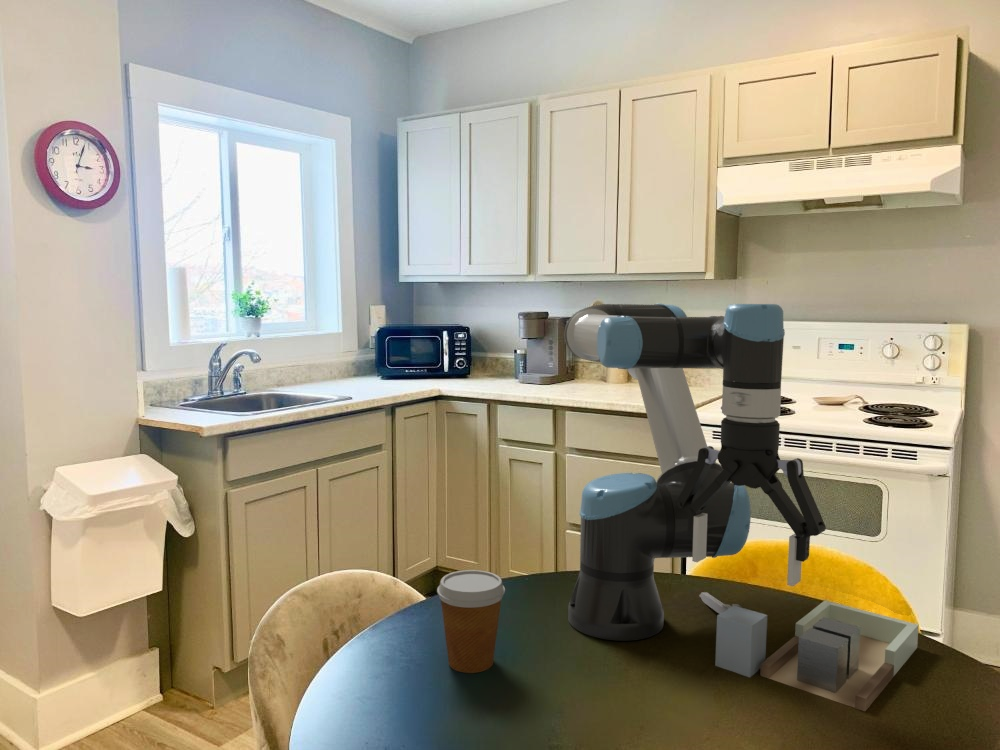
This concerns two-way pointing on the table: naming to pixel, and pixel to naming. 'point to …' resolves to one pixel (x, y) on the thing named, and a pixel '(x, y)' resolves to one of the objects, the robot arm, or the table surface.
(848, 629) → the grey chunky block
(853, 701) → the slot board
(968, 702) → the table surface
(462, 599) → the disposable coffee cup
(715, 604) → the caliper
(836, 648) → the grey squarish block
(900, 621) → the tray
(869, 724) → the table surface
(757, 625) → the grey block
